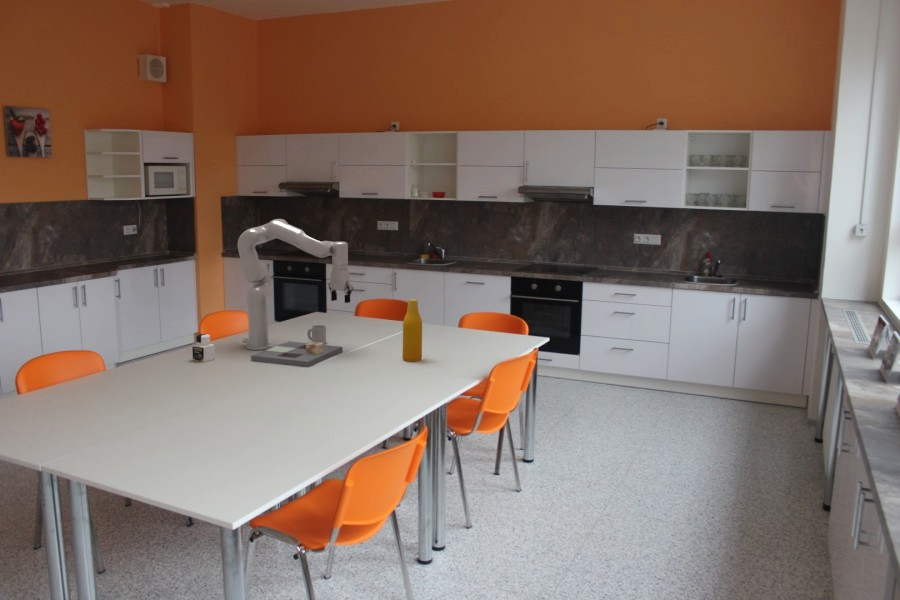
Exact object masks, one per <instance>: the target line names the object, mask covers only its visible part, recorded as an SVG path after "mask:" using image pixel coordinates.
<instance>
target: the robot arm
mask: <svg viewBox="0 0 900 600" xmlns="http://www.w3.org/2000/svg"><path fill="white" fill-rule="evenodd" d="M275 239H278V240H281V241H283V242H285V243H287V244H290V245H292V246H294V247H296V248H297V249H300V250H302V251H303V252H305V253H307V254H310V255H312V256H313V257H317V258H322V259H323V258H326V257H329V256H332V263H331V264H332V265H331V266H332V268H331V271H330V279H329V280H330V281H329V282H328V283H327V286H328V289H329V292H330V296H331V297H330V298H331V302H333V301H337V300H338V293H337V291H339V292H343V293H344V303H345V304H348V303H351V295H352V292H353V289H354V286H353V284H352V283H351V279H350V271H349V258H348V257H349V256H348V255H349V244H348V242H347V241H329V240H323V241H320V240H317V239H315V238H313V237H310V235H307V234H306V233H305V231H304V230H303V229H300V228H298V227H296V226H294V225H292V224H289V223H288V222H287V221H286V220H285V219H283V218H275V219H272V220H270V221H269V222H268V223H265V224H263V225H259V226H255V227H251V228H248V229H246V230H244V232H242V233H241V234H240V236H239V238H238V240H237V250H238V255H239V259H240V264H241V268H242V273H243V276H244V279H245V280H246V282H248V283H251V284H252V286H251V287H250V288H249V289H248V290H247V292H246V303H247V312H248V313H247V315H248V338H247V337H244V338H243V339H242V343H246V345H245V349H247V350H251V351H265V350H267V349H270V348H273V345H272V343H269V309H268V304H267V301H269V300H270V299H272V297H273V291H274V290H273V285H272V281H271V280H272V279H271V276H270V273H269V272H270V271H269V269H268V268H267V266H266V265H265V263H263V262H261V261H260V260H259V255H258V252H257V250H256V246H258V245H261V244H264V243H267V242H270V241H273V240H275Z"/></svg>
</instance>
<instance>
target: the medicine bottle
mask: <svg viewBox="0 0 900 600" xmlns="http://www.w3.org/2000/svg"><path fill="white" fill-rule="evenodd" d="M195 338H196V344H192V345H191V346H192V347H191V348H192V360H193V361H194V362H202V363H207V362H209V361H213V360H215V359H216V354H215V352H216V350H215V344H213V343H211V335H210V334H208V333H200V334H198V335H196V337H195Z"/></svg>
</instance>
